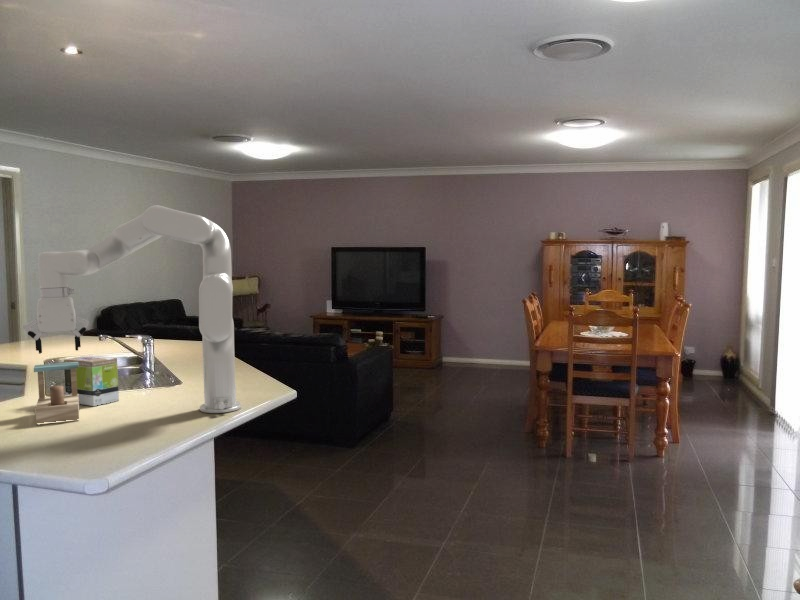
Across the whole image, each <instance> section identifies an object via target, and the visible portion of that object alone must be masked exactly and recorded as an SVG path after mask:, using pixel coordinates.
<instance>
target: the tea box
mask: <svg viewBox="0 0 800 600" xmlns="http://www.w3.org/2000/svg"><path fill="white" fill-rule="evenodd" d="M69 362H78V365H79V366H78V369H76V378H77V394H78V397H79V405H83V406H91V407H97V405H98V406H101V404H103V405H107V404H110V402H111V403H115V402H114V401H116V402H118V401H119V400H120V397H119V396H120V395H119V393H120V392H119V373H118V371H119V369H118V358H117V357H113V356H111V357H110V356H99V355H84V356H78V357H76V356H75V357H71V358H64V359H63V363H69ZM63 371H64V386H65V388H64V389H65V390H64V391H65V395H71V394H72V387H71V369H66V370H63ZM106 403H107V404H106Z"/></svg>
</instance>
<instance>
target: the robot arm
mask: <svg viewBox="0 0 800 600" xmlns="http://www.w3.org/2000/svg"><path fill="white" fill-rule="evenodd" d="M162 237H163V238H168V239H172V240H176V241H181V242H185V243H188V244H189V243H190V244H193V245H199V247H201V250H202V280H201V282H200V284H199V290H198V328H199V332H200V334H201V336H202V337H201V338H202V366H203V367H202V368H203V369H202V371H203V388H204V389H203V390H204V391H203V393H204V395H203V396H204V398H203V399H204V403H203V404H201V405H199V411H200V412H202V413H206V414H223V413H224V414H225V413H229V412H235V411H237V410H240V409H241V408H242V402H240V401H237V394H236V393H237V390H236V389H237V387H236V363H235V361H236V360H235V353H236V352H235V324H234V323H235V322H234V318H233V292H234V287H233V286H234V285H233V277H232V275H233V271H232V269H233V268H232V265H233V264H232V249H231V243H230V240H229V238H228V236H227V234H226V232H225V231H224V230H223V228H221V227H220V226H219V225H218V224H217V223H215V222H214V221H212V220H210V219H209V218H207V217H204V216H202V215H199V214H196V213H190V212H187V211H182V210H177V209H175V208H174V209H173V208H170V207H166V206H163V205H157V204H155V205H151V206H149V207H148V208H146V209H145V210H144V211H143V213H142V214H139V215H138V216H136V217H134V218H133V219H131V220H128V221H127V222H125V223H122V224H120V225H118V226H117V227H116V228H114V229H113V230H112V231H111V233H110V234H109V235H107V236H106V237H105V238H104V239H102V240H100V241H99V242H96V243H95V244H92V245H90V246H89V247H87V248H85V249H79V250H72V251H71V250H70V251H65V252H63V251H44V252H43V251H42V252H40V253H39V254H38V256H37V263H38V278H39V292H40V298H38V299H37V305H36V318H35V319H33V320H32V321H29V322H27V323H26V324H24V325H23V326H22V327H23V329H24V330H25V332H26V334H27V335H28V336H29V337H31V338H32V339H33V340H34V341H35V343H34V344H35V351H37V352H38V354H40V355H41V354H42V353H43V348H42V347H43V346H42V339H41V337H42V335H44V334H53V333H66V332H68V333H69V332H72V333H73V334H74V335H75V336H74V348H75V349H74V350H75V351H76V352H77V351H78V352H79V348H81V336H82V335H83V334H84V333H85V332H86V331H87V329H88V326H89V325H90V321H89V320H86V319H84V318H81V317H80V316H76V308H75V303H74V299H73V297H70V295H72V294H75V289H74V288H70V287H69V286H70V285H69V276H73V277H74V276H75V277H83V276H88V275H89V276H90V275H93V274H95V273H97V272H98V271H101V270H102V269H104V268H106V267H109V266H110V265H112V264H113V263H116V262H117V261H119V260H121V259H123V258H125V257H127V256H129V255H131V254H133V253H134V252H136V251H139V250H140V249H141V248H143V247H145V246H147V245H148V244H149V245H150V244H151V243H152V242H155V241H157V240H159V239H160V238H162ZM77 322H78V323H81V324H82V325H83V326H82V327H81V328H80V329H79V330H78V329H77ZM35 325H36V326H37V333H35V332H34V331H32V329H31V328H32V327H33V326H35Z"/></svg>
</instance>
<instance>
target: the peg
mask: <svg viewBox="0 0 800 600" xmlns="http://www.w3.org/2000/svg"><path fill="white" fill-rule="evenodd" d="M64 386H65V385H54V386H49V394H50V395H49V397H50V399H51V406H55V405H65V403H64V395H65V390H64V389H65V388H64Z"/></svg>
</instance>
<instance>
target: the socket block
mask: <svg viewBox="0 0 800 600" xmlns="http://www.w3.org/2000/svg"><path fill="white" fill-rule="evenodd" d="M78 366H79V365H78V362H69V363H64V362H58V363H47V364H46V363H45V364H35V365H34V366H33V373H37V387H38V400H37V402H36V406H35V421H36V423H44V422H56V421H66V420H77V419H79V420H80V404H79V397H78V394H77V378H76V369H78ZM66 369H71V387H72V394H71V395H66V394H64V403H65V405H55V406H51V399H50V396H46V393H45V379H44V377H45V376H44V372H51V371H52V372H54V371H62V370H63V371H64V370H66Z"/></svg>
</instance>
